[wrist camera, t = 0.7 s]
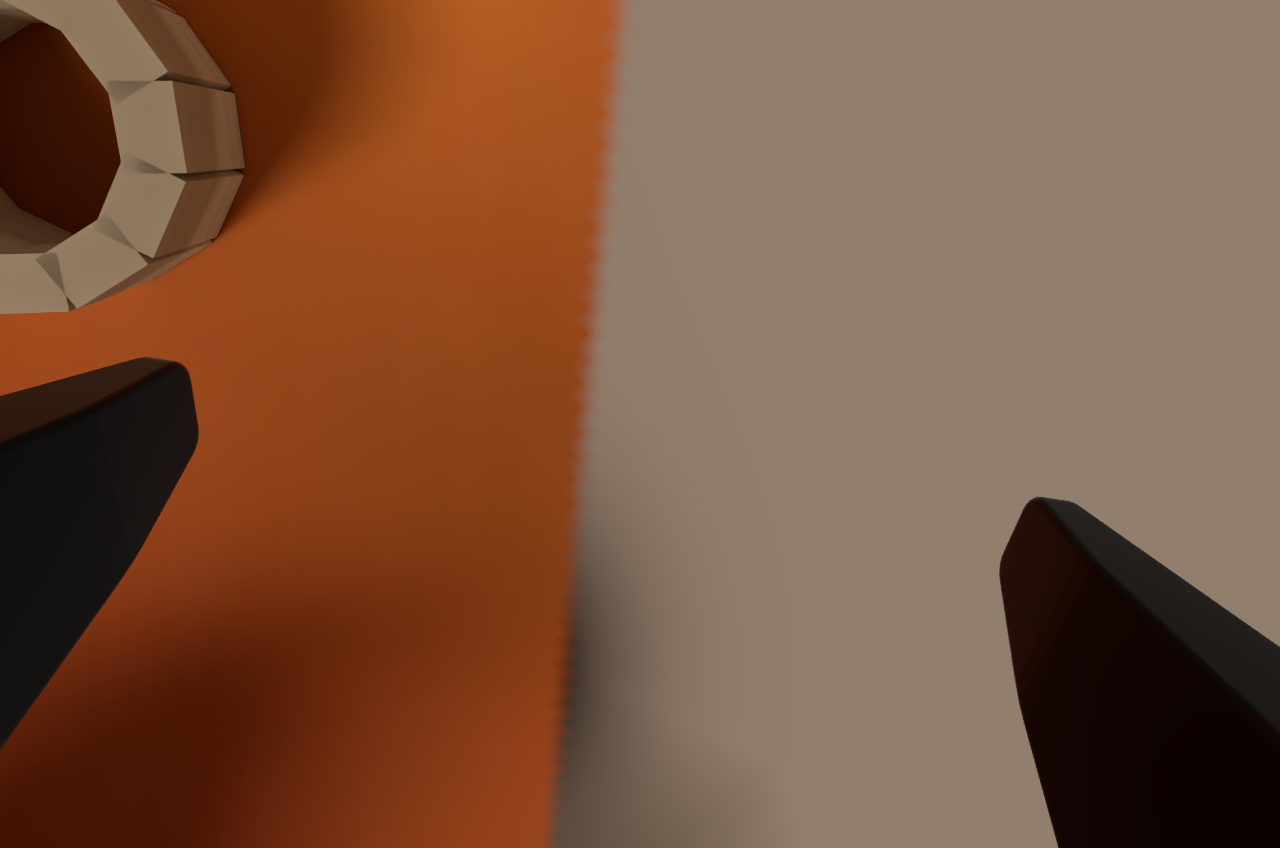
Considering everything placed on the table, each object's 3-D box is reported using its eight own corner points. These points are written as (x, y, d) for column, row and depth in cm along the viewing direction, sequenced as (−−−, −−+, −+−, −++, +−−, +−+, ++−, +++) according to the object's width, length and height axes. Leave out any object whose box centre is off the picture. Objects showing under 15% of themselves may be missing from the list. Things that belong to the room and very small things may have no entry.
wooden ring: (175, 331, 21) (104, 372, 17) (-131, 192, 19) (-286, 203, 15) (288, 74, 20) (239, 56, 16) (-27, -102, 18) (-168, -169, 14)
